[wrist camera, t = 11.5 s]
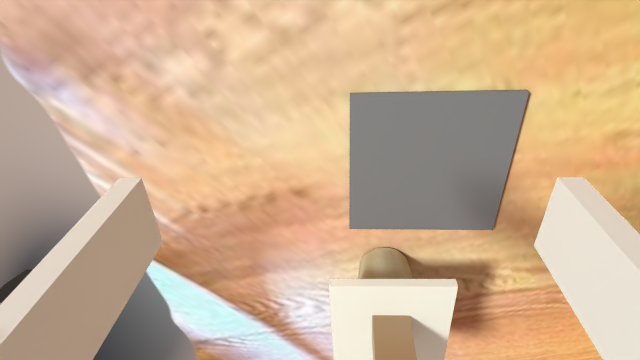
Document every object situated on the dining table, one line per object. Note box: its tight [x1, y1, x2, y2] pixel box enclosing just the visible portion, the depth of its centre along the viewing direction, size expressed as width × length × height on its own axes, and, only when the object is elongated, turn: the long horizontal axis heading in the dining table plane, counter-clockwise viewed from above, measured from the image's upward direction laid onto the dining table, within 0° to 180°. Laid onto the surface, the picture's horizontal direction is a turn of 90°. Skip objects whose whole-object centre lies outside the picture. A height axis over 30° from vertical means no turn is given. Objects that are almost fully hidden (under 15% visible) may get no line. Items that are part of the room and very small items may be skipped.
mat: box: [350, 90, 529, 230], centre depth 42 cm, size 17×17×1 cm
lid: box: [329, 279, 458, 360], centre depth 40 cm, size 13×13×8 cm
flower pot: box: [358, 247, 414, 279], centre depth 47 cm, size 9×9×9 cm
